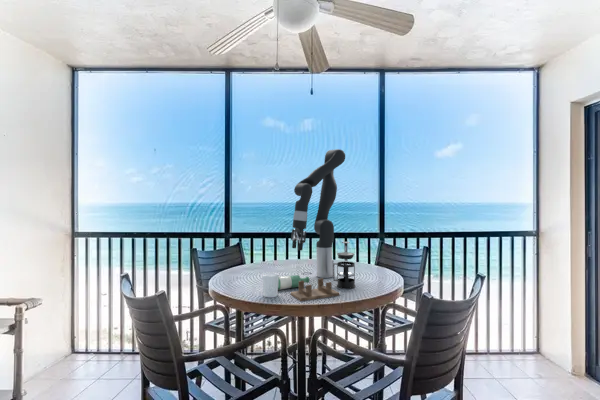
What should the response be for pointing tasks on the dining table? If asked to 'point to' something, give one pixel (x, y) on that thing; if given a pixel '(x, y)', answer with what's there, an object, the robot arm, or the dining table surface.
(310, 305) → the dining table surface
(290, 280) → the green bottle
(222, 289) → the dining table surface
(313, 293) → the bottle rest
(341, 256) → the french press
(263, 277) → the white cup
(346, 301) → the dining table surface
